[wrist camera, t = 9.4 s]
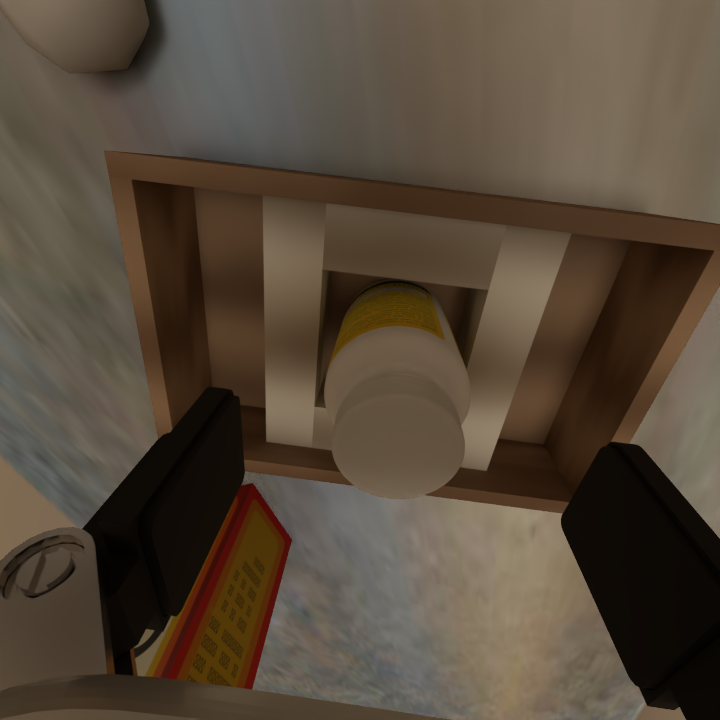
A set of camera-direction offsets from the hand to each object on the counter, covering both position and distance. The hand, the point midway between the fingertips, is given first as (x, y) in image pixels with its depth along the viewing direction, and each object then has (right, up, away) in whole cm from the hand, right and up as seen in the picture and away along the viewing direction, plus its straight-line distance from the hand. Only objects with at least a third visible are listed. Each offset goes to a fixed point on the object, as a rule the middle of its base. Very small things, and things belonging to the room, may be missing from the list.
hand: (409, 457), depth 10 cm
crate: (0, +5, +11) cm, 12 cm away
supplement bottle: (+1, +4, +10) cm, 11 cm away
